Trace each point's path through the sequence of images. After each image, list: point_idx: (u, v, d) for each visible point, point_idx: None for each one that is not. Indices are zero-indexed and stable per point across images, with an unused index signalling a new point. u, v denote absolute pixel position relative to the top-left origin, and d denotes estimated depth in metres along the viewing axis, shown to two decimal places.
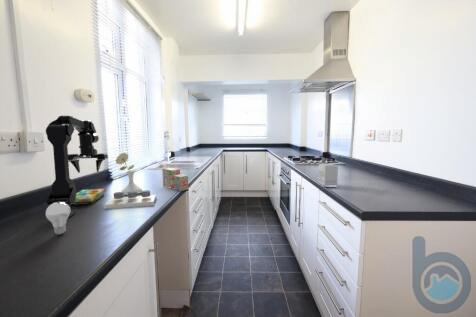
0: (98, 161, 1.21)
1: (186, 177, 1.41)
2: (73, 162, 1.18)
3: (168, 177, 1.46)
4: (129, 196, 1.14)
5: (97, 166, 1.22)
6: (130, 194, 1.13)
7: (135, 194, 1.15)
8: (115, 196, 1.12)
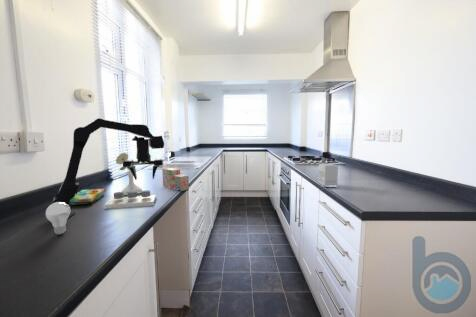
0: (155, 167, 1.14)
1: (186, 177, 1.41)
2: (131, 169, 1.12)
3: (168, 177, 1.46)
4: (129, 196, 1.14)
5: (153, 173, 1.15)
6: (130, 194, 1.13)
7: (135, 194, 1.15)
8: (115, 196, 1.12)
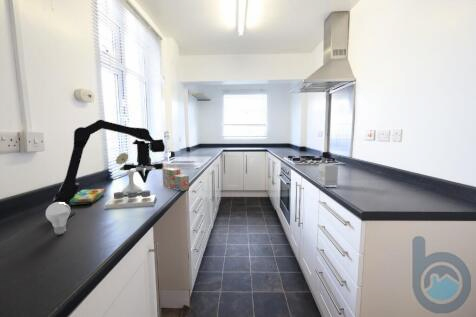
0: (147, 171, 1.13)
1: (187, 177, 1.41)
2: (140, 172, 1.13)
3: (168, 177, 1.46)
4: (129, 196, 1.14)
5: (145, 177, 1.14)
6: (130, 194, 1.13)
7: (135, 194, 1.15)
8: (115, 196, 1.12)
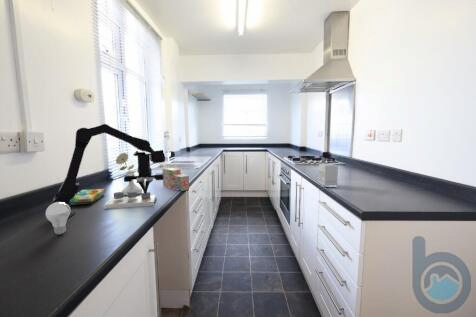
0: (147, 182, 1.14)
1: (187, 177, 1.41)
2: (141, 183, 1.13)
3: (168, 177, 1.46)
4: (129, 196, 1.14)
5: (146, 188, 1.15)
6: (130, 194, 1.13)
7: (135, 194, 1.15)
8: (115, 196, 1.12)
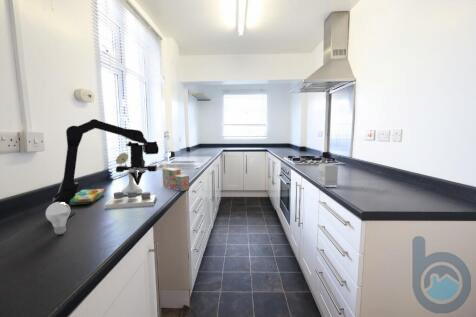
0: (140, 174, 1.12)
1: (187, 177, 1.41)
2: (133, 174, 1.12)
3: (168, 177, 1.46)
4: (129, 196, 1.14)
5: (138, 179, 1.14)
6: (130, 194, 1.13)
7: (135, 194, 1.15)
8: (115, 196, 1.12)
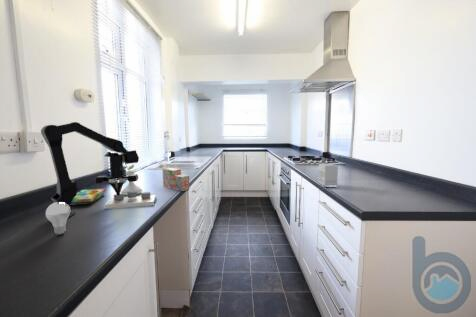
0: (120, 184, 1.11)
1: (187, 177, 1.41)
2: (113, 185, 1.10)
3: (169, 177, 1.46)
4: (129, 196, 1.14)
5: (119, 189, 1.12)
6: (130, 194, 1.13)
7: (135, 194, 1.15)
8: (115, 198, 1.12)
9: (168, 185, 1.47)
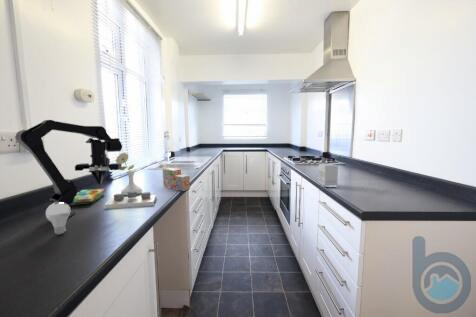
0: (101, 172, 1.06)
1: (187, 177, 1.41)
2: (94, 173, 1.05)
3: (169, 177, 1.46)
4: (129, 196, 1.14)
5: (100, 178, 1.07)
6: (130, 194, 1.13)
7: (135, 194, 1.15)
8: (115, 198, 1.12)
9: (168, 185, 1.47)
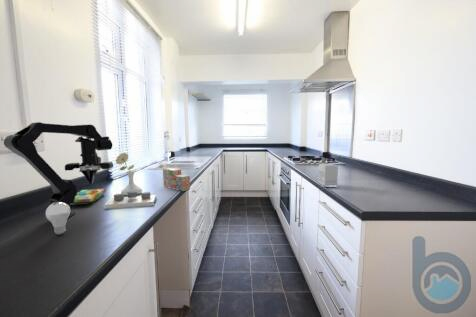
0: (92, 171, 1.04)
1: (188, 177, 1.40)
2: (84, 172, 1.03)
3: (169, 177, 1.45)
4: (129, 196, 1.14)
5: (91, 177, 1.05)
6: (130, 194, 1.13)
7: (135, 194, 1.15)
8: (115, 198, 1.12)
9: (168, 185, 1.47)
